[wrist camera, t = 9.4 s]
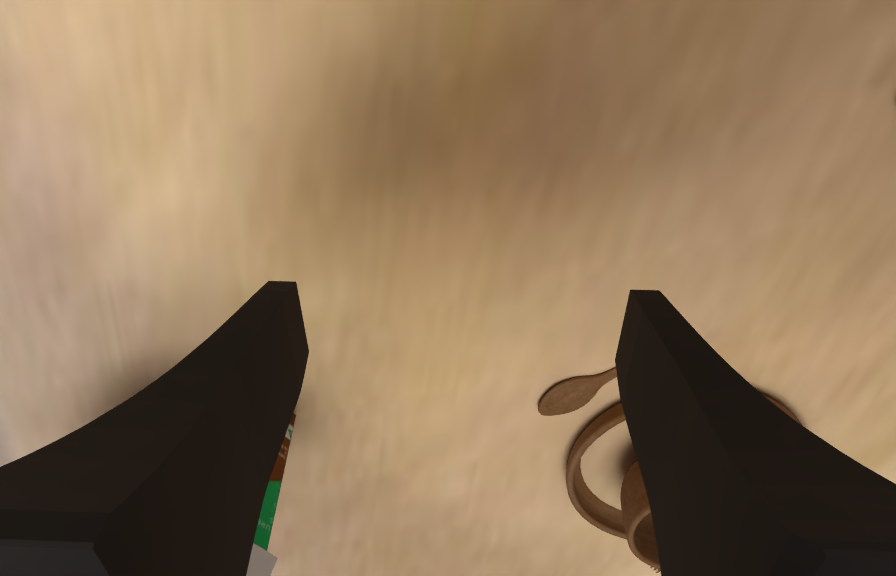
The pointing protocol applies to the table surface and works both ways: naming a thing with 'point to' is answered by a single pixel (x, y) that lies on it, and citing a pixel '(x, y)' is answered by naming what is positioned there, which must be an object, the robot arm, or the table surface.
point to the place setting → (634, 500)
